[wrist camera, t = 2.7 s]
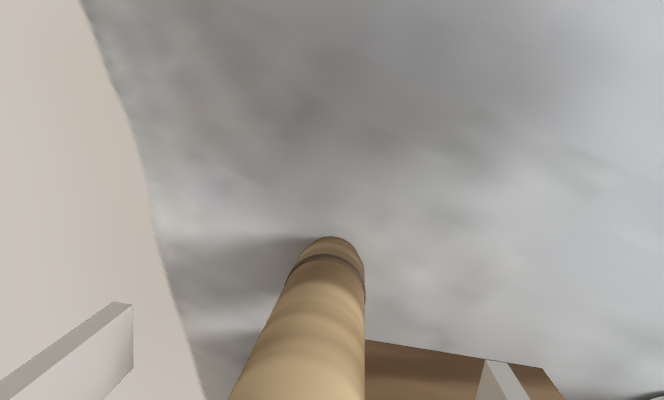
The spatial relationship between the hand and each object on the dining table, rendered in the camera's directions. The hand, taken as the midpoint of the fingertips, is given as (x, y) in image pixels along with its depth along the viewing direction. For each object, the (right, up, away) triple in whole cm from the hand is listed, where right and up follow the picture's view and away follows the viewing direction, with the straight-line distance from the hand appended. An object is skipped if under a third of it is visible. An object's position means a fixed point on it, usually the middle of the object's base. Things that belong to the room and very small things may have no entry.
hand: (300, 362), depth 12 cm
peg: (+1, +2, +8) cm, 9 cm away
